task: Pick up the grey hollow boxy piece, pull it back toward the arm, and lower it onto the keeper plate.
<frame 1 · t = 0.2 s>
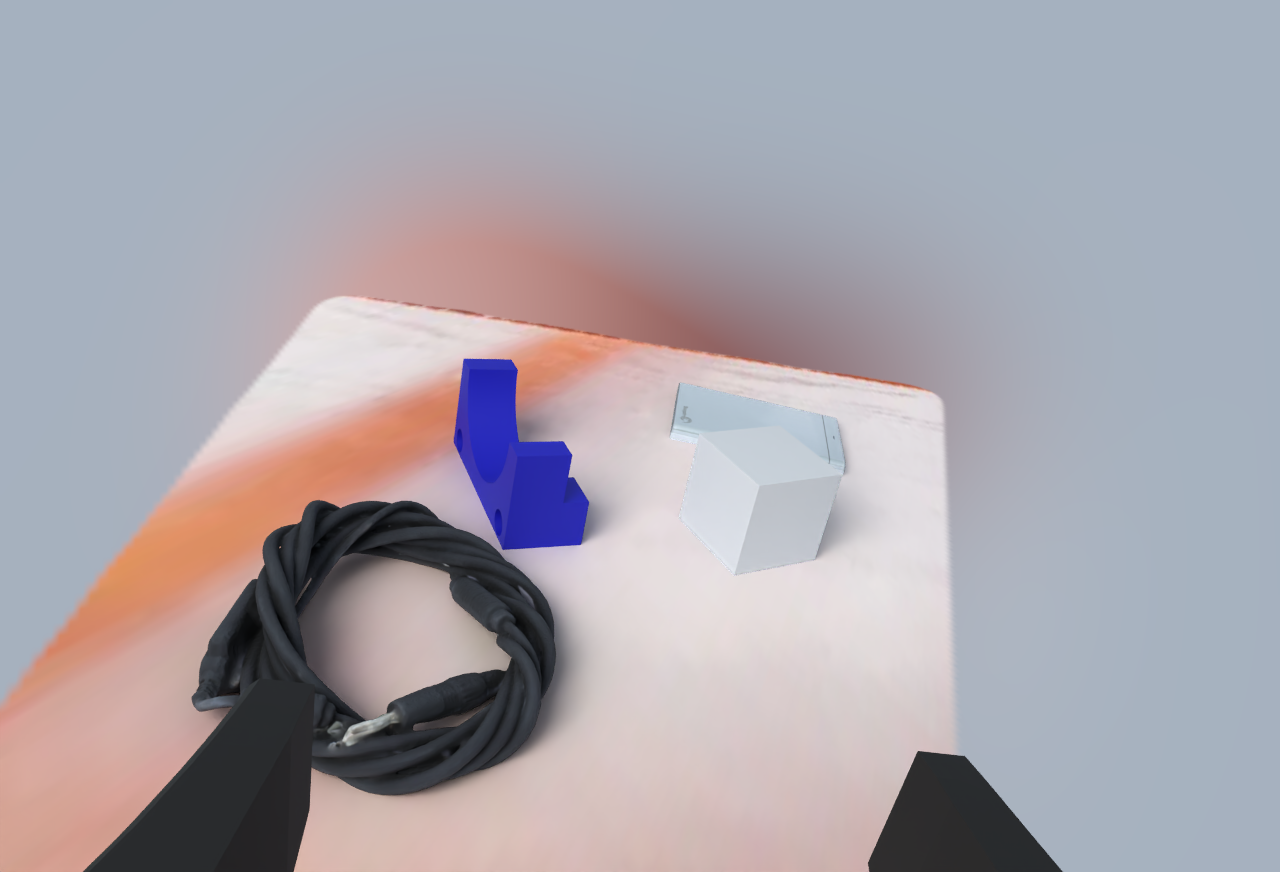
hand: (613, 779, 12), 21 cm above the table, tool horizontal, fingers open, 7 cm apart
cable clip: (512, 495, 59), on the table
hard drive: (753, 441, 73), on the table
cable: (402, 655, 45), on the table
light grey cubic block: (744, 543, 59), on the table
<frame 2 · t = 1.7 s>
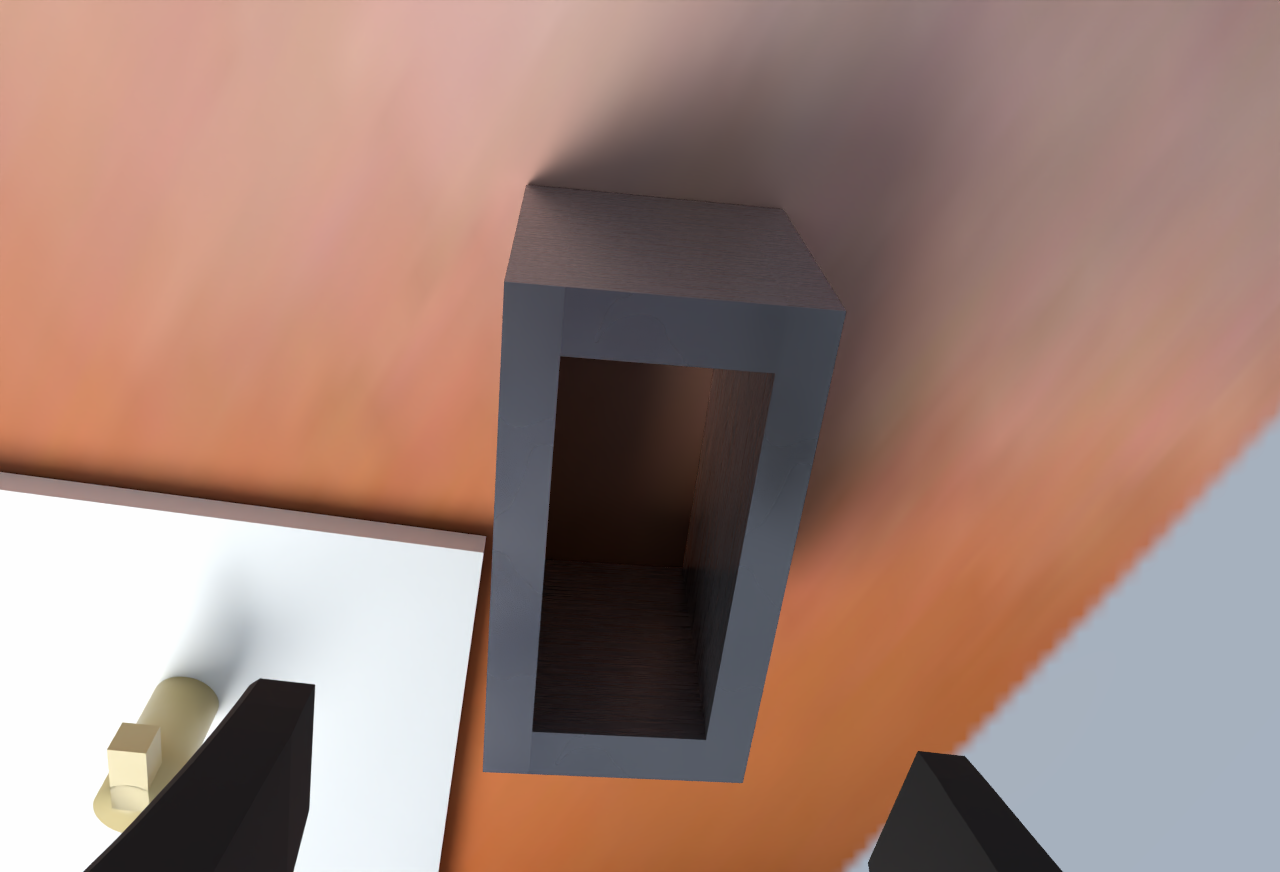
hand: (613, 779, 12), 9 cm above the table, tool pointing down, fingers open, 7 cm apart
keeper plate: (196, 714, 23), on the table
grey hollow boxy piece: (630, 420, 20), on the table
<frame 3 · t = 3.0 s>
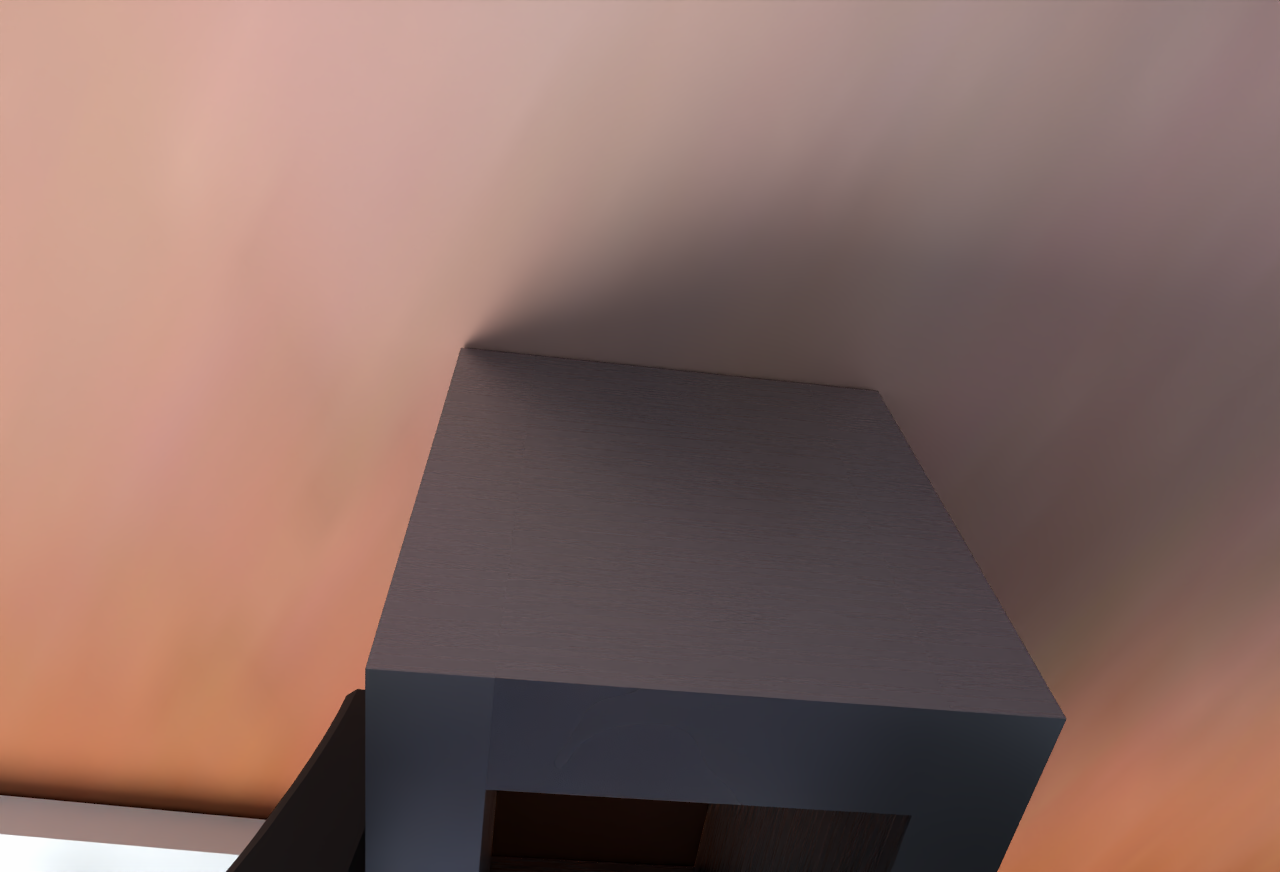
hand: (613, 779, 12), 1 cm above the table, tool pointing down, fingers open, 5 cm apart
grey hollow boxy piece: (622, 681, 13), on the table, touching gripper
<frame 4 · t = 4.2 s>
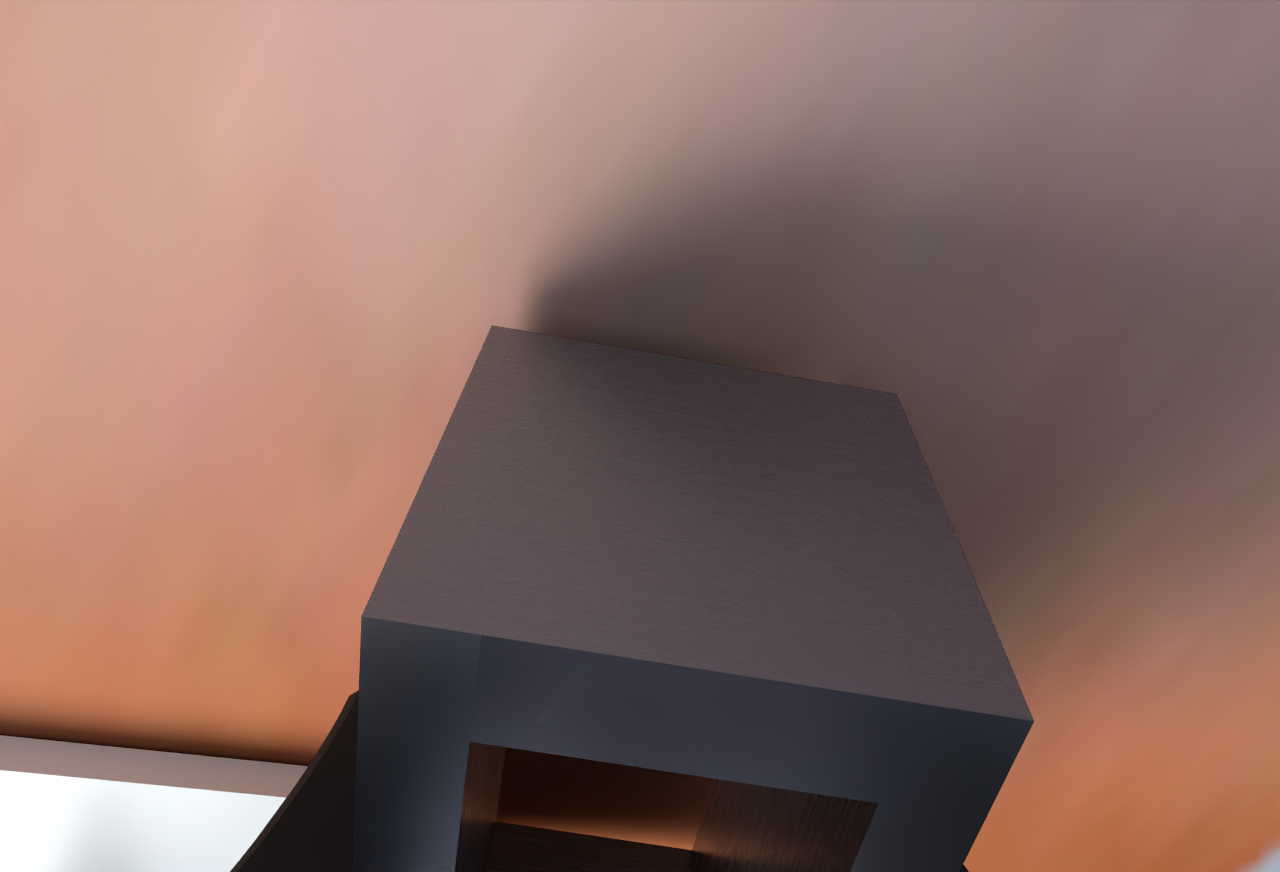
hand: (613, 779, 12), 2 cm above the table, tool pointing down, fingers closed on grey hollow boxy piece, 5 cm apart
grey hollow boxy piece: (631, 662, 13), point 1 cm above the table, touching gripper
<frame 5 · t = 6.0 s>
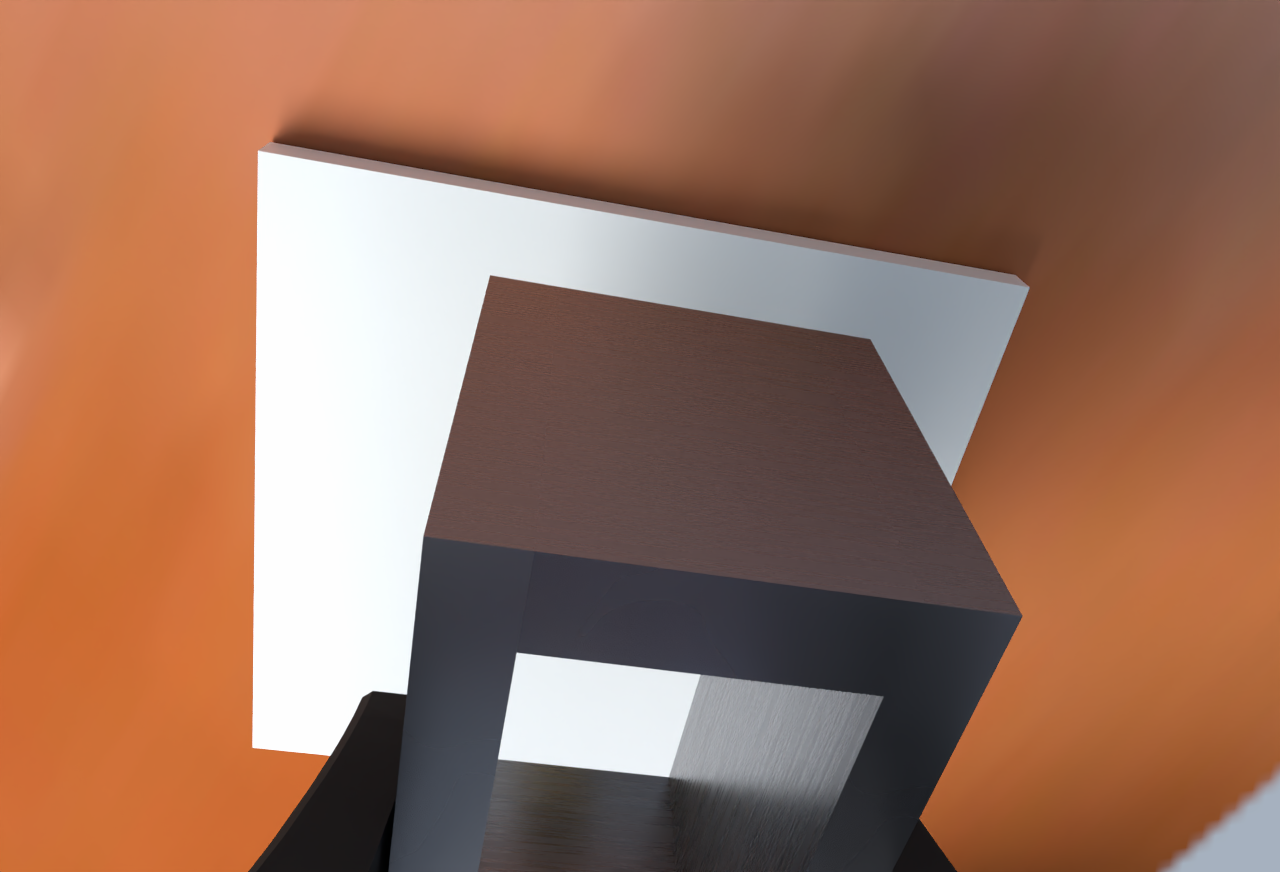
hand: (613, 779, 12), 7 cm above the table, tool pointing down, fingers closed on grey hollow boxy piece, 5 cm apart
keeper plate: (597, 525, 18), on the table
grey hollow boxy piece: (616, 598, 14), point 4 cm above the table, touching gripper
when the fingers open (3 cm above the table, at t = 7.5 s): grey hollow boxy piece stays where it is, resting on keeper plate.
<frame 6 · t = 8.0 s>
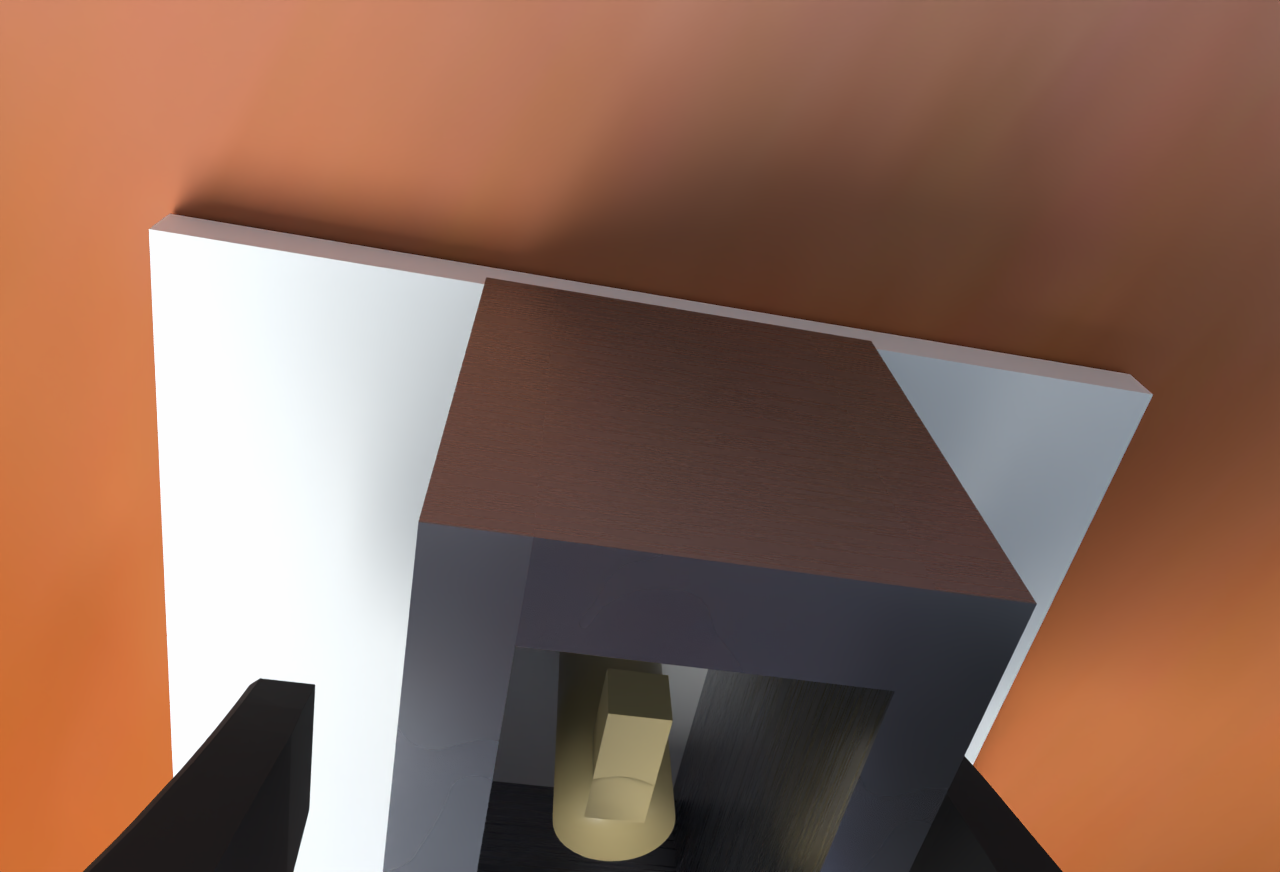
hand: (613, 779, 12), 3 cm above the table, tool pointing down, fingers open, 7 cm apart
keeper plate: (597, 669, 15), on the table
grey hollow boxy piece: (615, 611, 14), point 1 cm above the table, touching keeper plate
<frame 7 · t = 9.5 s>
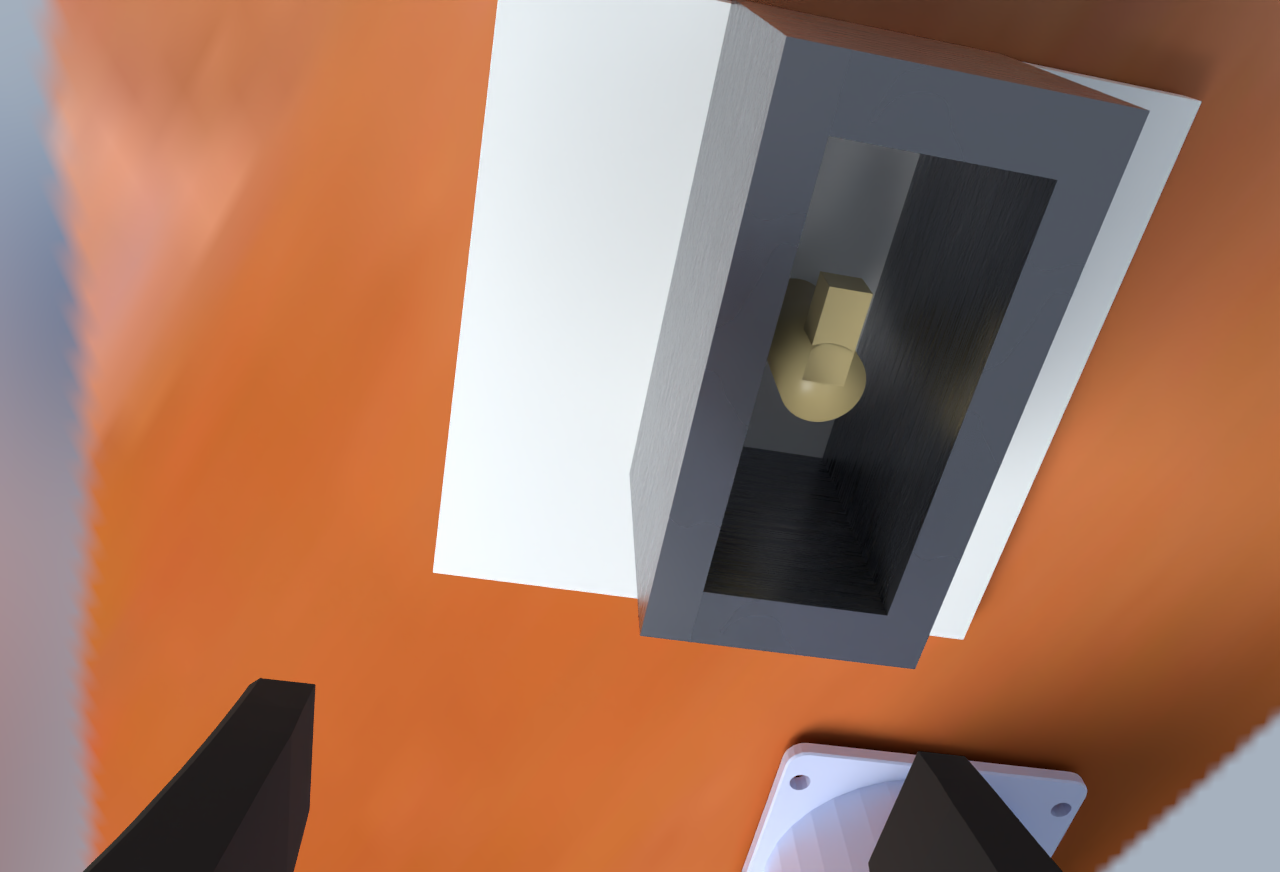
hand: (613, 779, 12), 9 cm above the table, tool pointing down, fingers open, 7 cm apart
keeper plate: (771, 349, 19), on the table
grey hollow boxy piece: (796, 284, 18), point 1 cm above the table, touching keeper plate
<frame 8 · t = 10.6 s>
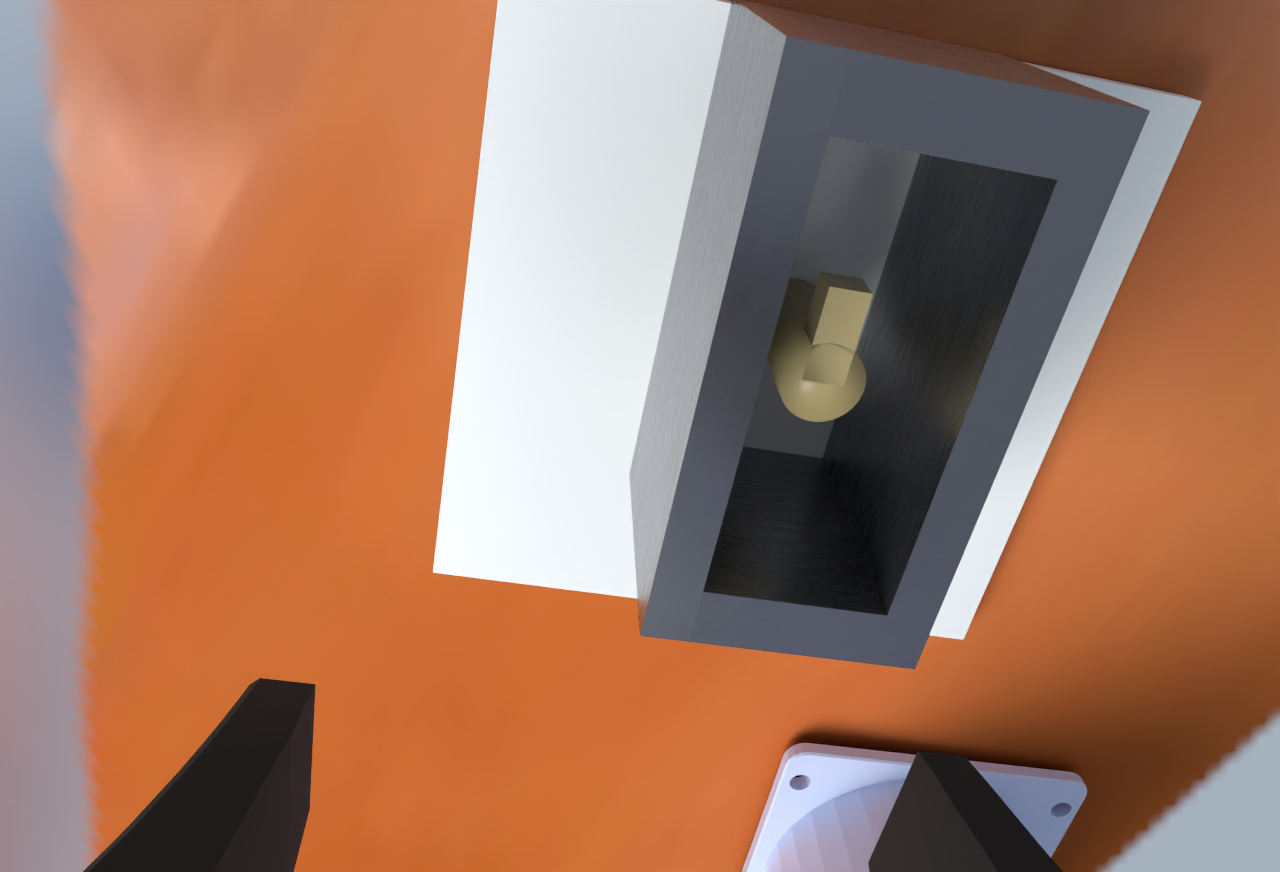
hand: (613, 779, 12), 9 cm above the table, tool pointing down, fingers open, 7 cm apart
keeper plate: (771, 349, 19), on the table
grey hollow boxy piece: (796, 284, 18), point 1 cm above the table, touching keeper plate
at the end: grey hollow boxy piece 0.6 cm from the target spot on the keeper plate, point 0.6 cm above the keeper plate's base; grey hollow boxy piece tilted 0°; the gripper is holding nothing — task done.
